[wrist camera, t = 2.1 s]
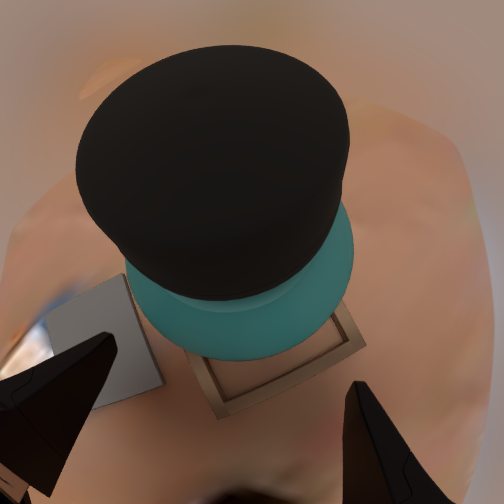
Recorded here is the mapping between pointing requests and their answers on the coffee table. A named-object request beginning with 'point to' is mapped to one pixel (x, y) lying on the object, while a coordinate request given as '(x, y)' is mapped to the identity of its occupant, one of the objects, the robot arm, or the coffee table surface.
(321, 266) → the beverage bottle
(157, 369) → the grey coaster
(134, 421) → the coffee table surface
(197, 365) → the walnut collar
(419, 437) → the coffee table surface
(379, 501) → the robot arm
